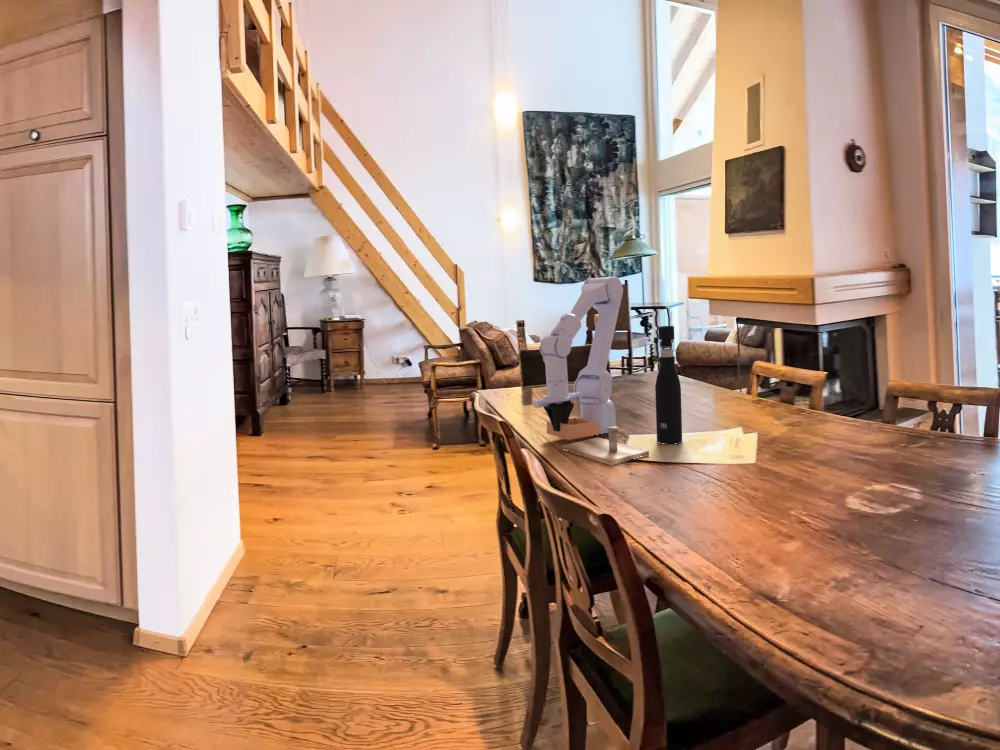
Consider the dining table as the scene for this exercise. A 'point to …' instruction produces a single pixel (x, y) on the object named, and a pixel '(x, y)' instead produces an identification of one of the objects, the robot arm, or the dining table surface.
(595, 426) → the pink square frame
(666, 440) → the black water bottle
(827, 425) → the dining table surface
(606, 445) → the thin beige base plate
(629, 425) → the dining table surface
